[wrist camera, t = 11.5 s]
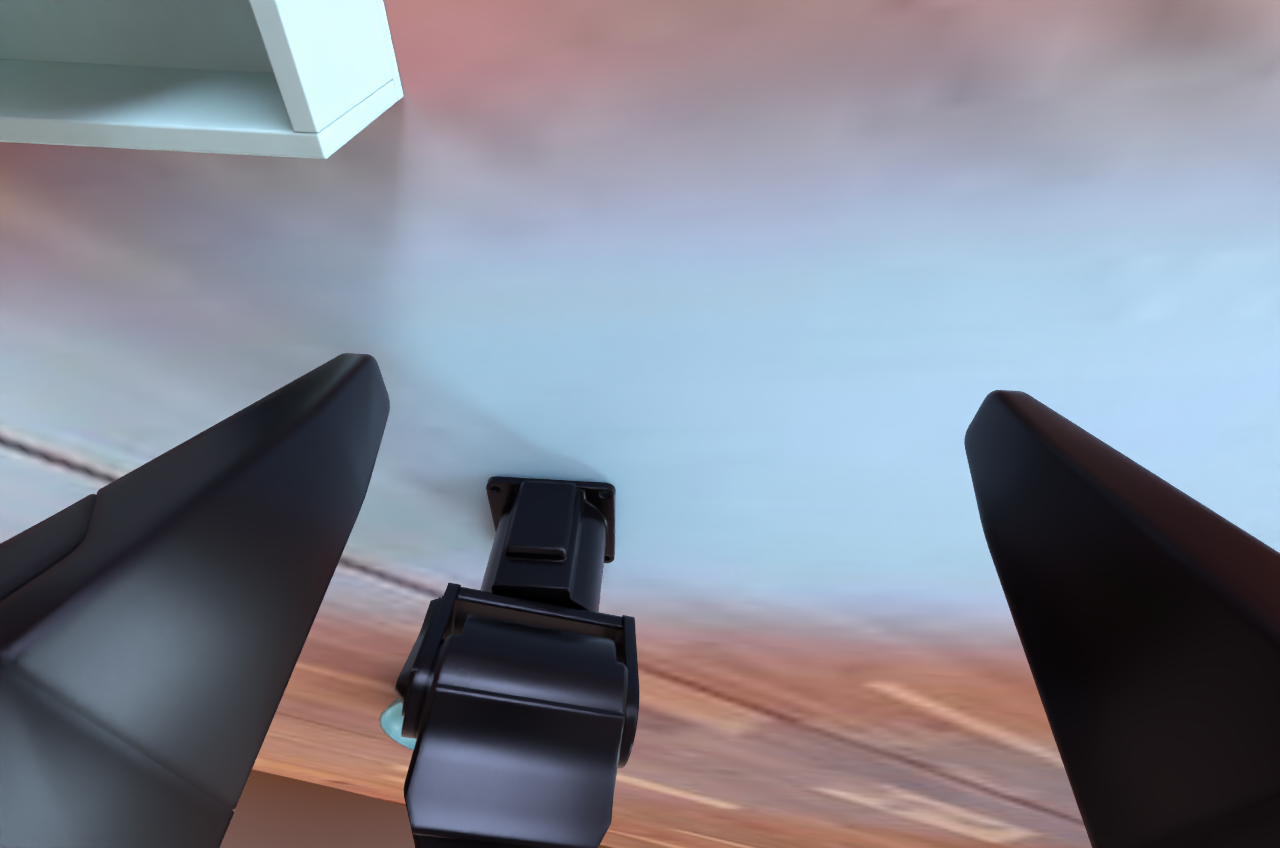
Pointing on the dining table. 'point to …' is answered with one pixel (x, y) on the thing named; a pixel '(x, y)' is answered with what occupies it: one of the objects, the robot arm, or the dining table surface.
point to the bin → (195, 74)
